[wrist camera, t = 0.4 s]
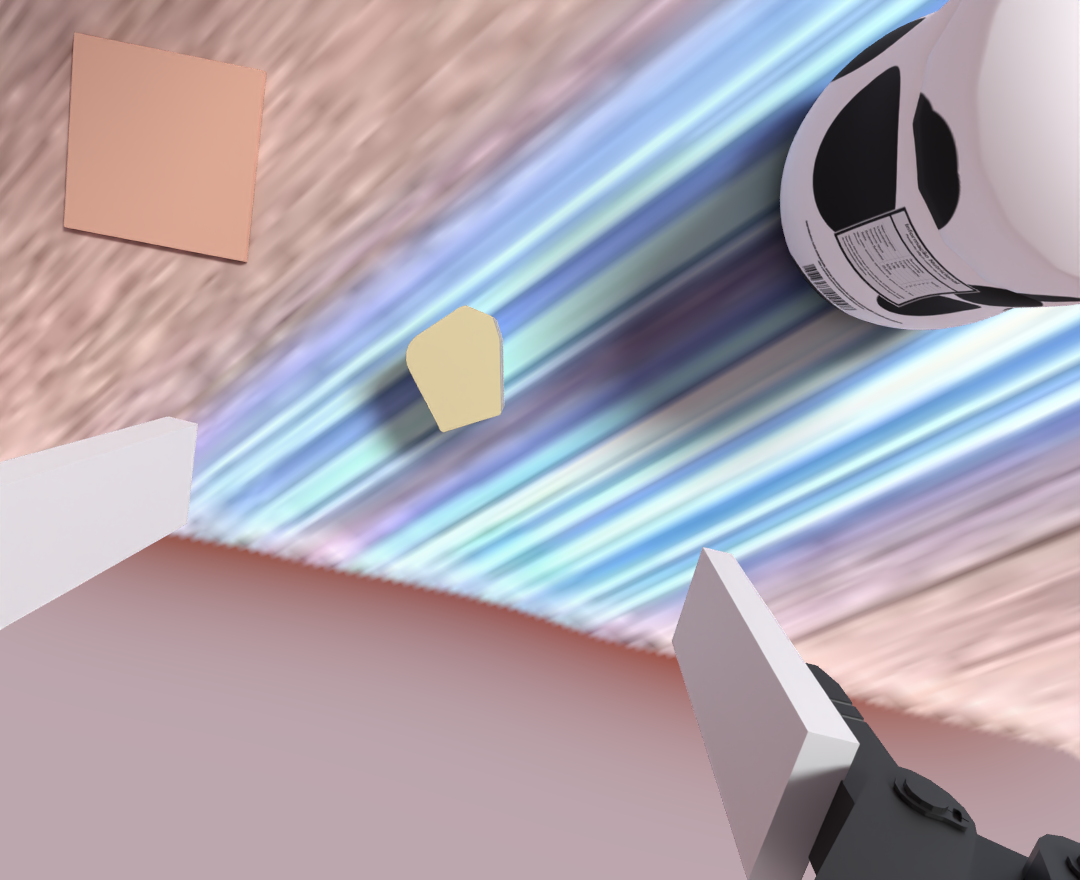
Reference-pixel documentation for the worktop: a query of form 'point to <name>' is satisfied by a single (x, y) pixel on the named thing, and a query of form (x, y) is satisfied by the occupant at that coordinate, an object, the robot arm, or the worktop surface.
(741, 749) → the robot arm
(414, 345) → the stacked layers on plate
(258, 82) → the coaster
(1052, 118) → the milk container
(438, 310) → the worktop surface
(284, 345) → the worktop surface
